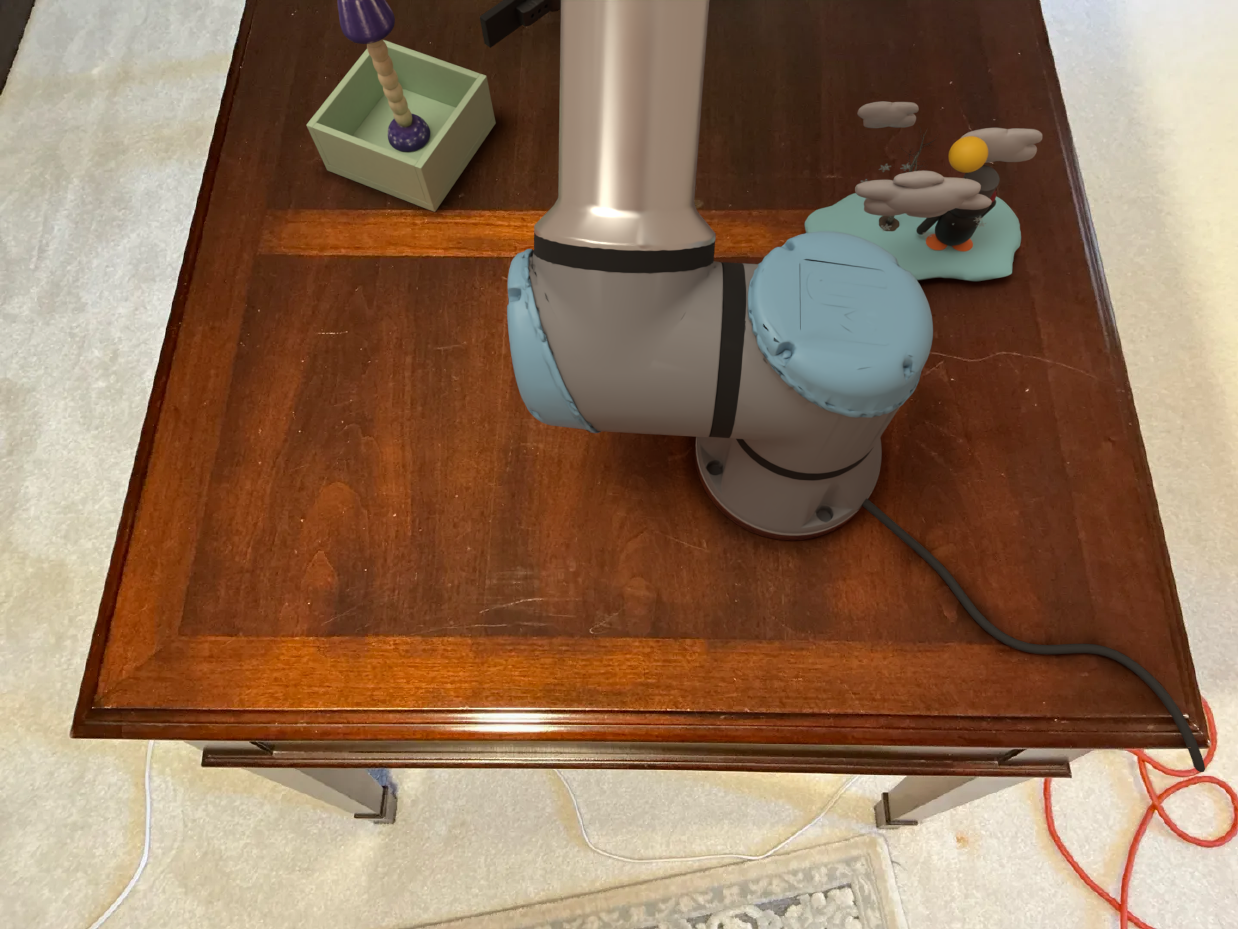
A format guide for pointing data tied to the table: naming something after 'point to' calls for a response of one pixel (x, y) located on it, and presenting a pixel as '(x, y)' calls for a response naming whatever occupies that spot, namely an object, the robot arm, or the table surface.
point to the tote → (362, 115)
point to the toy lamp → (383, 67)
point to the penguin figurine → (937, 204)
